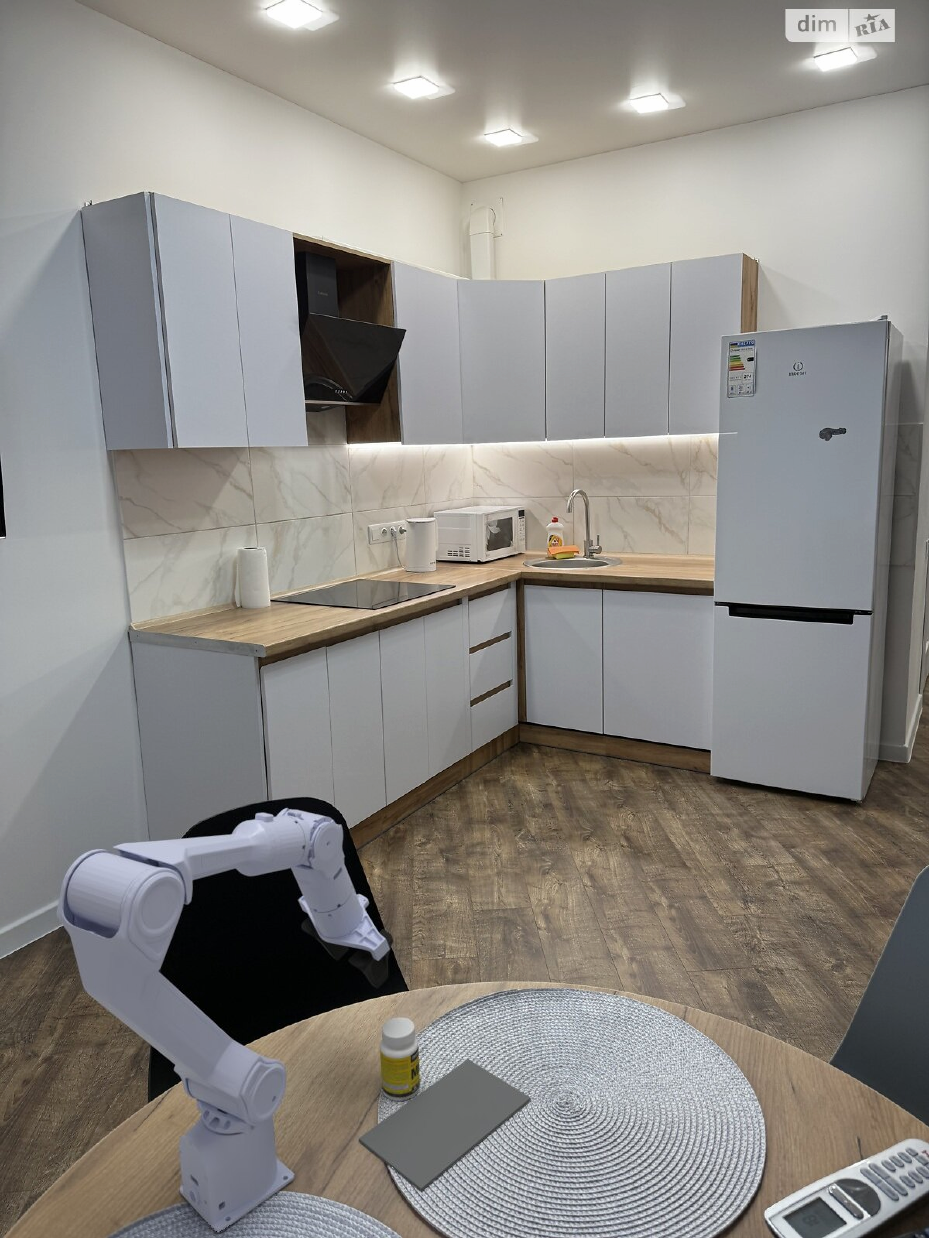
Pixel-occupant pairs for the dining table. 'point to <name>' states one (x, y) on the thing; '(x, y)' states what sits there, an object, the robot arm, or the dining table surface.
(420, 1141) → the mat
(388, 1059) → the supplement bottle
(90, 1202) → the dining table surface
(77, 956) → the robot arm
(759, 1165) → the dining table surface
